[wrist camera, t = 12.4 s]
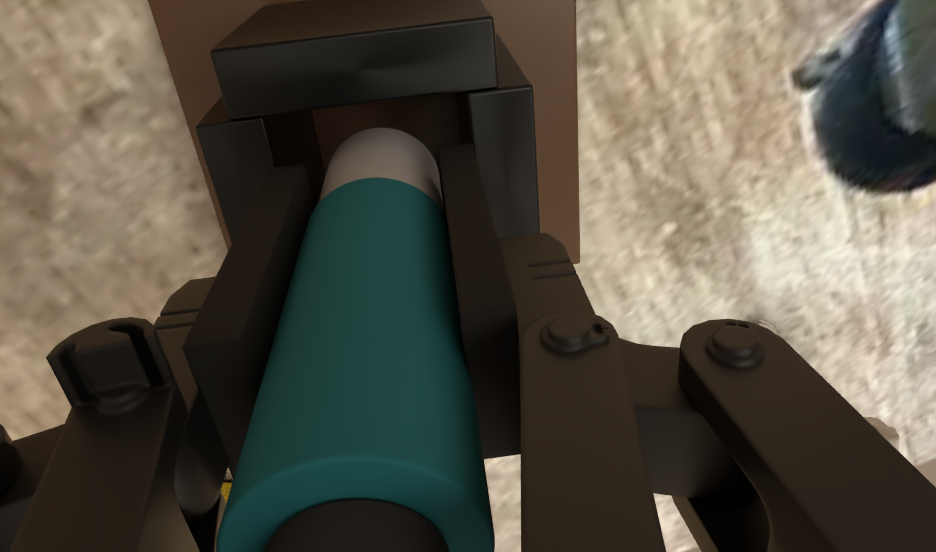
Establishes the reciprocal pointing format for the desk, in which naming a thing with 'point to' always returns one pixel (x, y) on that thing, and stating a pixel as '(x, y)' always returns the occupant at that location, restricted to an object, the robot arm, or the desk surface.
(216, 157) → the holder
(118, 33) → the desk surface
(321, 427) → the teal and black cylinder
